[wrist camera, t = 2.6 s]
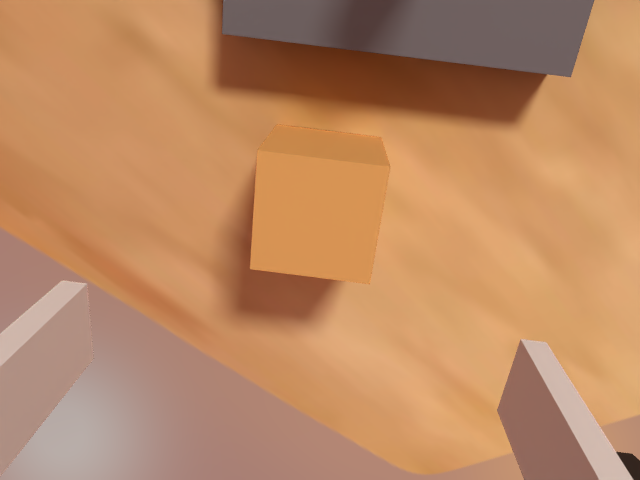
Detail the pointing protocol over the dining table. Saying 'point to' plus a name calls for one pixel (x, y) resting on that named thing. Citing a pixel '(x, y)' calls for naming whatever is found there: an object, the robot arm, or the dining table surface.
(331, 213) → the orange toy cube
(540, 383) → the robot arm
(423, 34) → the dark gray slab
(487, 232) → the dining table surface
